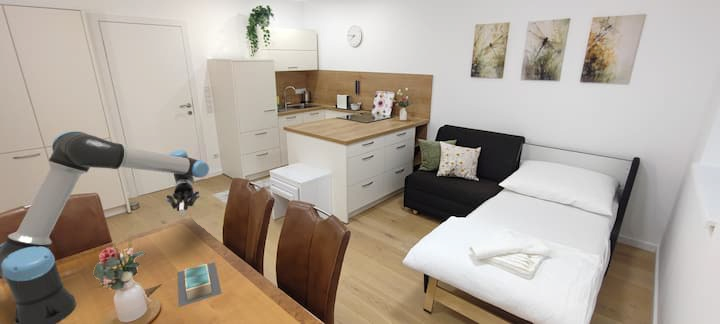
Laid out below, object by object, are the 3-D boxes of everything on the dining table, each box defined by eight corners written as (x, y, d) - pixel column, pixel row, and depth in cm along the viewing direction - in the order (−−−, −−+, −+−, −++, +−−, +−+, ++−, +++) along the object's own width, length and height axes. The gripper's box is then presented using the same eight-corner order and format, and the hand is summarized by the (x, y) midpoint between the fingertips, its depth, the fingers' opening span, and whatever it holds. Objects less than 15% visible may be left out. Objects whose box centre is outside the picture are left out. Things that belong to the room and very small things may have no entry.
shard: (162, 287, 125) (161, 283, 125) (164, 298, 119) (163, 294, 119) (128, 298, 120) (127, 294, 119) (128, 311, 114) (127, 306, 113)
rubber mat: (178, 308, 114) (178, 307, 113) (177, 274, 132) (177, 272, 132) (221, 295, 120) (221, 293, 120) (215, 263, 138) (214, 262, 138)
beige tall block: (186, 278, 128) (187, 300, 117) (184, 268, 127) (185, 290, 115) (208, 271, 132) (212, 292, 120) (206, 262, 131) (210, 282, 119)
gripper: (200, 195, 155) (200, 217, 135) (169, 199, 150) (164, 223, 130) (198, 180, 153) (198, 201, 132) (166, 184, 147) (161, 206, 127)
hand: (181, 212), depth 131 cm, fingers closed
